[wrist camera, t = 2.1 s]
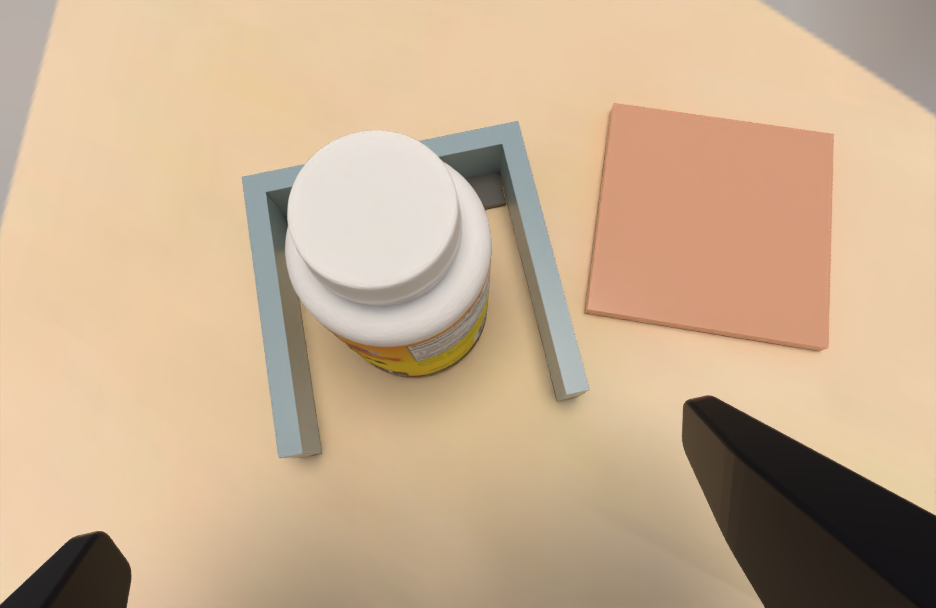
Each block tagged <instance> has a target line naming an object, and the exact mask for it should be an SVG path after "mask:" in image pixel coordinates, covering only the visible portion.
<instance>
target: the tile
mask: <svg viewBox="0 0 936 608" xmlns="http://www.w3.org/2000/svg"><path fill="white" fill-rule="evenodd" d="M833 142H834V134H830V133H823V132H816V131H809V130H801V129H794V128H787V127H780V126H773V125H766V124H759V123H752V122H745V121H738V120H730V119H723V118H716V117H709V116H702V115H695V114H688V113H681V112H674V111H667V110H659V109H652V108H645V107H638V106H631V105H624V104H617V103H614V104H613V106H612V109H611V112H610V120H609V128H608V136H607V143H606V151H605V159H604V167H603V174H602V182H601V190H600V198H599V206H598V213H597V221H596V229H595V237H594V245H593V252H592V260H591V268H590V276H589V283H588V291H587V299H586V307H585V313H589V314H595V315H601V316H607V317H613V318H619V319H626V320H632V321H638V322H644V323H650V324H656V325H663V326H669V327H675V328H681V329H687V330H693V331H699V332H706V333H712V334H718V335H724V336H730V337H736V338H743V339H749V340H755V341H761V342H767V343H773V344H780V345H786V346H792V347H798V348H804V349H810V350H816V351H821V350H824V349H827V348H828V343H829V303H830V263H831V223H832V182H833Z"/></svg>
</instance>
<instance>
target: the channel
mask: <svg viewBox="0 0 936 608" xmlns="http://www.w3.org/2000/svg"><path fill="white" fill-rule="evenodd" d="M419 142H421V143H422V144H424V145H425V146H427V147H428V148H429V149H431V150H432V151H433V152H434V153H435V154H436V155H437V156H438V157H439V158H440V159H441V160H442V161H443V162H445V163H446V164H448V165H449V166H451V167H452V168H453V169H454V170H456V171H457V172H458V173H459V174H460V175H462V176H463V177H464V178H465V179H466V181H467V182H468V183H469V184H470V185H471V186H472V188H473V189H474V191H475V192H476V193H477V195H478V197H479V199H480V200H481V202H482V204H483V207H484V209H489V208H494V207H498V206H503V205H505V203H506V202H505V198H504V194H503V190H502V186H501V182H500V178H499V174H500V176H501V180H502V184H503V188H504V192H505V196H506V200H507V204H508V208H509V212H510V216H511V220H512V224H513V228H514V232H515V236H516V240H517V244H518V248H519V252H520V256H521V260H522V264H523V268H524V272H525V276H526V280H527V284H528V287H529V291H530V295H531V299H532V303H533V307H534V311H535V315H536V319H537V323H538V327H539V331H540V335H541V339H542V343H543V347H544V351H545V355H546V359H547V363H548V367H549V371H550V375H551V379H552V383H553V387H554V391H555V395H556V399H557V401H560V400H565V399H569V398H574V397H578V396H580V395H581V394H583V393H585V392H586V391H588V390H590V389H589V385H588V382H587V378H586V374H585V370H584V367H583V363H582V359H581V355H580V352H579V348H578V344H577V340H576V337H575V333H574V329H573V325H572V322H571V318H570V314H569V310H568V306H567V303H566V299H565V295H564V291H563V288H562V284H561V280H560V276H559V273H558V269H557V265H556V261H555V258H554V254H553V250H552V246H551V243H550V239H549V235H548V231H547V228H546V224H545V220H544V216H543V213H542V209H541V205H540V201H539V197H538V194H537V190H536V186H535V182H534V179H533V175H532V171H531V167H530V164H529V160H528V156H527V152H526V149H525V145H524V141H523V137H522V134H521V130H520V126H519V122H518V121H515V122H511V123H506V124H501V125H496V126H491V127H486V128H481V129H476V130H471V131H466V132H461V133H456V134H451V135H446V136H442V137H437V138H432V139H427V140H422V141H419ZM304 165H305V164H304ZM304 165H299V166H294V167H289V168H284V169H279V170H274V171H269V172H264V173H259V174H254V175H249V176H244V177H242V183H243V190H244V198H245V205H246V213H247V221H248V228H249V236H250V244H251V251H252V259H253V266H254V274H255V282H256V289H257V297H258V305H259V312H260V320H261V328H262V335H263V343H264V350H265V358H266V366H267V373H268V381H269V389H270V396H271V404H272V411H273V419H274V427H275V434H276V442H277V450H278V457H279V458H302V457H307V456H311V455H316V454H320V453H322V451H321V444H320V437H319V430H318V424H317V417H316V410H315V404H314V397H313V390H312V383H311V377H310V370H309V363H308V357H307V350H306V343H305V337H304V330H303V323H302V316H301V310H300V303H299V297H298V295H297V294H296V292H295V290H294V288H293V286H292V283H291V280H290V277H289V273H288V269H287V265H286V257H285V242H286V233H287V228H288V223H287V211H288V200H289V195H290V192H291V189H292V187H293V184H294V182H295V179H296V177H297V176H298V174H299V172H300V171H301V169H302V168H303V167H304Z"/></svg>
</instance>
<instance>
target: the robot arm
mask: <svg viewBox="0 0 936 608" xmlns="http://www.w3.org/2000/svg"><path fill="white" fill-rule="evenodd" d="M682 442H683V447H684V450H685V453H686V456H687V458H688V460H689V462H690V464H691V467H692V469H693V471H694V473H695V475H696V478H697V480H698V482H699V484H700V486H701V488H702V491H703V493H704V495H705V497H706V499H707V502H708V504H709V506H710V508H711V510H712V512H713V515H714V517H715V519H716V521H717V523H718V526H719V528H720V530H721V532H722V534H723V536H724V538H725V540H726V542H727V544H728V546H729V547H730V549H731V551H732V553H733V555H734V556H735V558H736V560H737V561H738V563H739V565H740V566H741V568H742V570H743V571H744V573H745V575H746V576H747V578H748V580H749V581H750V583H751V585H752V587H753V588H754V590H755V592H756V593H757V595H758V597H759V598H760V600H761V602H762V603H763V605H764V607H765V608H936V515H934V514H932V513H930V512H928V511H926V510H925V509H923V508H921V507H919V506H917V505H915V504H913V503H912V502H910V501H908V500H906V499H904V498H902V497H900V496H898V495H897V494H895V493H893V492H891V491H889V490H887V489H885V488H884V487H882V486H880V485H878V484H876V483H874V482H872V481H871V480H869V479H867V478H865V477H863V476H861V475H859V474H857V473H856V472H854V471H852V470H850V469H848V468H846V467H844V466H843V465H841V464H839V463H837V462H835V461H833V460H831V459H830V458H828V457H826V456H824V455H822V454H820V453H818V452H816V451H815V450H813V449H811V448H809V447H807V446H805V445H803V444H802V443H800V442H798V441H796V440H794V439H792V438H790V437H789V436H787V435H785V434H783V433H781V432H779V431H777V430H775V429H774V428H772V427H770V426H768V425H766V424H764V423H762V422H761V421H759V420H757V419H755V418H753V417H751V416H749V415H748V414H746V413H744V412H742V411H740V410H738V409H736V408H735V407H733V406H731V405H729V404H727V403H725V402H723V401H721V400H720V399H718V398H716V397H713V396H702V397H698V398H693V399H689V400H687V401H686V402H685V403H684V405H683V423H682ZM130 585H131V568H130V565H129V563H128V561H127V560H126V558H125V557H124V556H123V554H122V553H121V551H120V550H119V549H118V547H117V546H116V545H115V543H114V542H113V540H112V539H111V538H110V536H109V535H108V534H107V533H105V532H103V531H96V532H91V533H87V534H82V535H78V536H75V537H73V538H71V539H70V540H69V541H68V542H66V543H65V544H64V545H63V546H62V547H61V548H60V549H59V550H58V551H57V552H56V553H55V554H54V555H53V556H52V557H50V558H49V559H48V560H47V561H46V562H45V563H44V564H43V565H42V566H41V567H40V568H39V569H38V570H37V571H36V572H35V573H33V574H32V575H31V576H30V577H29V578H28V579H27V580H26V581H25V582H24V583H23V584H22V585H21V586H20V587H19V588H18V589H16V590H15V591H14V592H13V593H12V594H11V595H10V596H9V597H8V598H7V599H6V600H5V601H4V602H3V603H2V604H1V605H0V608H127V602H128V596H129V590H130Z"/></svg>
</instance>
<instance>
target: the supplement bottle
mask: <svg viewBox="0 0 936 608" xmlns="http://www.w3.org/2000/svg"><path fill="white" fill-rule="evenodd" d="M287 219H288V228H287V233H286V242H285V257H286V265H287V269H288V273H289V277H290V280H291V283H292V286H293V288H294V290H295V292H296V294H297V295H298V297H299V299H300V300H301V302H302V303H303V305H304V306H305V307H306V309H307V310H308V311H309V312H310V313H311V314H312V315H313V316H314V317H315V318H316V319H317V320H318V321H319V322H320V323H321V324H322V325H323V326H325V327H326V328H327V329H328V330H330V331H331V332H332V333H333V334H334V335H336V336H337V337H338V338H339V339H341V340H342V341H343V342H344V343H346V344H347V345H348V346H349V347H350V348H351V349H353V350H354V351H356V352H357V353H358V354H359V355H361V356H362V357H363V358H364V359H365V360H367V361H368V362H370V363H371V364H372V365H374V366H376V367H377V368H379V369H381V370H383V371H385V372H388V373H391V374H394V375H398V376H402V377H425V376H430V375H434V374H437V373H440V372H443V371H445V370H447V369H449V368H451V367H452V366H454V365H455V364H457V363H458V362H460V361H461V360H462V359H463V358H464V357H465V356H466V355H467V354H468V353H469V352H470V351H471V350H472V348H473V347H474V346H475V344H476V342H477V341H478V339H479V337H480V335H481V333H482V330H483V327H484V324H485V320H486V315H487V306H488V295H489V282H490V265H491V251H492V244H491V232H490V226H489V221H488V218H487V215H486V212H485V209H484V207H483V204H482V202H481V200H480V199H479V197H478V195H477V193H476V192H475V191H474V189H473V188H472V186H471V185H470V184H469V183H468V182H467V181H466V179H465V178H464V177H463V176H462V175H460V174H459V173H458V172H457V171H456V170H454V169H453V168H452V167H451V166H449V165H448V164H446V163H445V162H443V161H442V160H441V159H440V158H439V157H438V156H437V155H436V154H435V153H434V152H433V151H432V150H431V149H429V148H428V147H427V146H425V145H424V144H422V143H421V142H419V141H417V140H415V139H413V138H411V137H408V136H406V135H403V134H399V133H395V132H389V131H363V132H357V133H353V134H349V135H346V136H344V137H341V138H339V139H336V140H334V141H333V142H331V143H329V144H328V145H326V146H324V147H323V148H322V149H320V150H319V151H318V152H317V153H315V154H314V155H313V156H312V157H311V158H310V159H309V160H308V162H307V163H306V164H305V165H304V167H303V168H302V169H301V171H300V172H299V174H298V176H297V177H296V179H295V182H294V184H293V187H292V189H291V192H290V195H289V200H288V211H287Z"/></svg>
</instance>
